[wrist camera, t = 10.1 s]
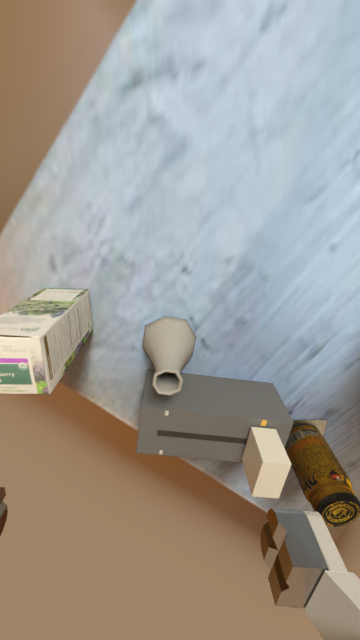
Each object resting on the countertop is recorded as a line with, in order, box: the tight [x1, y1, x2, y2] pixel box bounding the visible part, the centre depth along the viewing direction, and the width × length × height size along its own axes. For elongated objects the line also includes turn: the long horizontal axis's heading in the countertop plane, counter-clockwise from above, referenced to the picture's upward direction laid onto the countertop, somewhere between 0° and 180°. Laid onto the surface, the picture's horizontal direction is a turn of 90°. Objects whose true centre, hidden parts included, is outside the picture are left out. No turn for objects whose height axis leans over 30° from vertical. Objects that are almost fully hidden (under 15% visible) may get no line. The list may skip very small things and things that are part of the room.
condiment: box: [284, 420, 360, 527], centre depth 41 cm, size 7×8×12 cm
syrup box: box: [0, 289, 93, 394], centre depth 31 cm, size 6×6×14 cm
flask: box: [142, 316, 196, 396], centre depth 35 cm, size 7×7×10 cm
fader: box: [242, 427, 292, 498], centre depth 33 cm, size 3×5×5 cm, turn 172°
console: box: [136, 370, 294, 463], centre depth 39 cm, size 18×7×8 cm, turn 82°
